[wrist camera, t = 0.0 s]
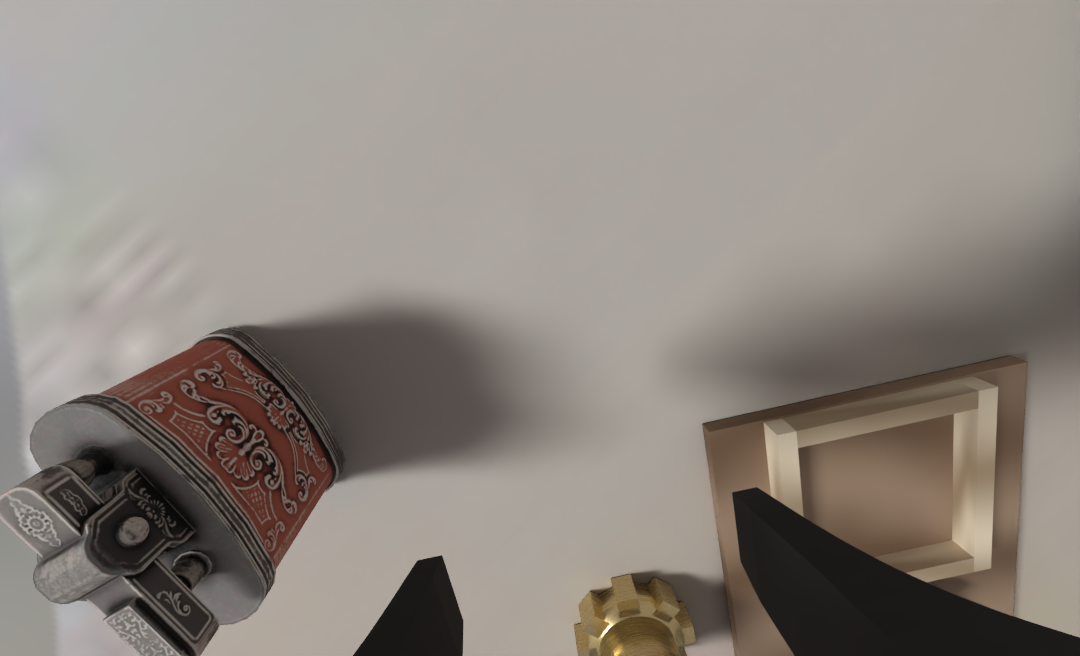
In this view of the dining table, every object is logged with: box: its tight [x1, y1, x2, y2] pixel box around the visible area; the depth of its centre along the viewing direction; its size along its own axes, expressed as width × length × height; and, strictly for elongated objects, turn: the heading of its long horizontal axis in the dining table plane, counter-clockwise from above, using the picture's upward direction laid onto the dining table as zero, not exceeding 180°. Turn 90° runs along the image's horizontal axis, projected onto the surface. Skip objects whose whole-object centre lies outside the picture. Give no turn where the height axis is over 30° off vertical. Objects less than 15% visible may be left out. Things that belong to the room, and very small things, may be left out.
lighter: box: [0, 328, 345, 656], centre depth 17 cm, size 8×3×10 cm, turn 30°
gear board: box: [702, 356, 1027, 656], centre depth 24 cm, size 18×14×2 cm
